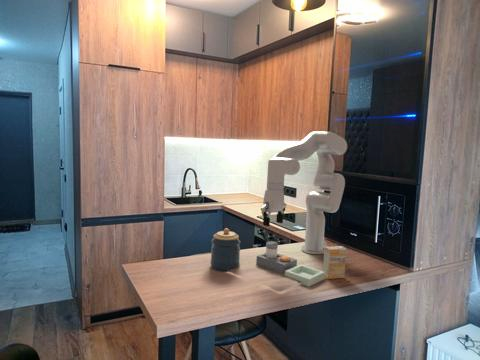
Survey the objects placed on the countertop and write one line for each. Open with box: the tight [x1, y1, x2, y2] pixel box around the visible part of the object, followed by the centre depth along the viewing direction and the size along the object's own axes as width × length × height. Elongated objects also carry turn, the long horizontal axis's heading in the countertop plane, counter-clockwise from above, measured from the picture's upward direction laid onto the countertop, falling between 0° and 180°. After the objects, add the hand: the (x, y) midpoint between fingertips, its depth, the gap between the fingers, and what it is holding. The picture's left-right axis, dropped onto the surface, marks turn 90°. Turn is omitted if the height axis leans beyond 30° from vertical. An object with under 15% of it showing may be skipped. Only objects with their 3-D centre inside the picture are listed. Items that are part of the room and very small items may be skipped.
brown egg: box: [280, 255, 291, 262], centre depth 158 cm, size 4×4×5 cm
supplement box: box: [322, 245, 348, 280], centre depth 154 cm, size 8×5×13 cm, turn 105°
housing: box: [255, 252, 298, 275], centre depth 161 cm, size 10×15×5 cm, turn 47°
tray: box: [284, 263, 325, 287], centre depth 152 cm, size 12×12×3 cm
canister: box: [210, 227, 241, 272], centre depth 160 cm, size 13×13×18 cm
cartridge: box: [265, 240, 279, 259], centre depth 163 cm, size 5×5×10 cm
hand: (272, 224), depth 161 cm, fingers open, 9 cm apart
